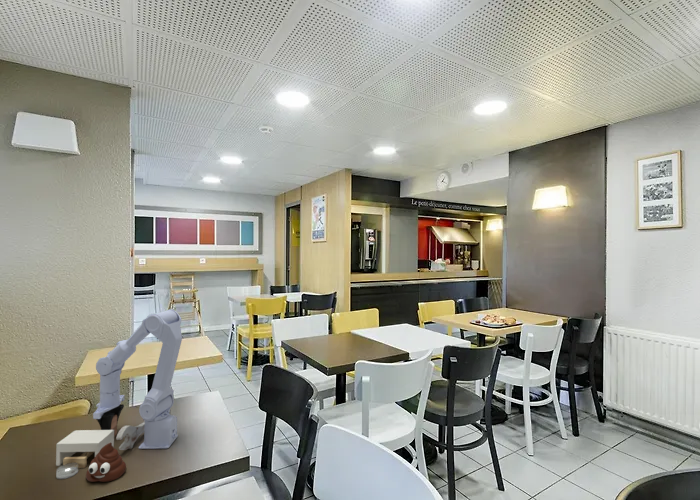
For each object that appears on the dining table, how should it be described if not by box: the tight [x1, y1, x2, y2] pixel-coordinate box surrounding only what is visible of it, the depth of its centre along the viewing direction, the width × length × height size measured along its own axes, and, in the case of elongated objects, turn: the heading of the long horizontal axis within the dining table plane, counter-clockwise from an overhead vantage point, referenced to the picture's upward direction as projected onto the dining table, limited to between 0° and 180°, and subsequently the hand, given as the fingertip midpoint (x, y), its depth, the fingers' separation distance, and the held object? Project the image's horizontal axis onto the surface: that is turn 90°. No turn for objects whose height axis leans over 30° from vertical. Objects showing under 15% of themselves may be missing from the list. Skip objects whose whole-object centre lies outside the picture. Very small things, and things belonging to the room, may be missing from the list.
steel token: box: [55, 462, 79, 480], centre depth 104 cm, size 5×5×2 cm
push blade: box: [62, 415, 118, 469], centre depth 116 cm, size 6×19×7 cm, turn 4°
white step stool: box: [55, 429, 115, 467], centre depth 112 cm, size 12×8×6 cm, turn 94°
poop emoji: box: [85, 443, 127, 483], centre depth 104 cm, size 10×8×9 cm
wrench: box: [115, 408, 172, 451], centre depth 127 cm, size 8×2×30 cm
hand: (109, 430), depth 124 cm, fingers closed on push blade, 3 cm apart
